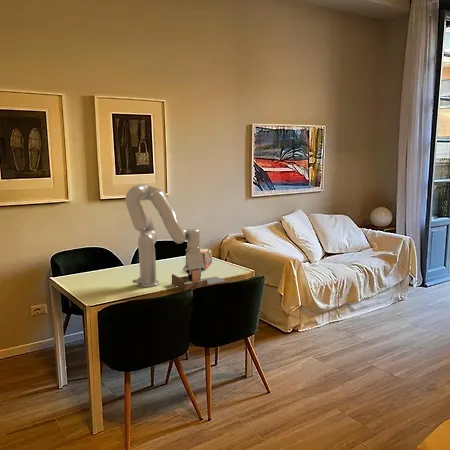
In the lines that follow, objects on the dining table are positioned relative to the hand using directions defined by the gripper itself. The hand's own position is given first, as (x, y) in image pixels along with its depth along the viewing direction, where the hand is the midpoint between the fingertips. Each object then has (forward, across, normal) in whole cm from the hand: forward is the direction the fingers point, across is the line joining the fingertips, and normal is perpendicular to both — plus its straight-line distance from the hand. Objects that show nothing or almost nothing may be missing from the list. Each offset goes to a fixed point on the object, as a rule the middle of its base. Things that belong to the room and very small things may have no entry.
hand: (194, 279), depth 276 cm
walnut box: (+3, -3, 0) cm, 5 cm away
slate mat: (+3, +12, 0) cm, 13 cm away
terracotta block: (+1, 0, 0) cm, 1 cm away
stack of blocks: (+3, +25, +34) cm, 42 cm away
